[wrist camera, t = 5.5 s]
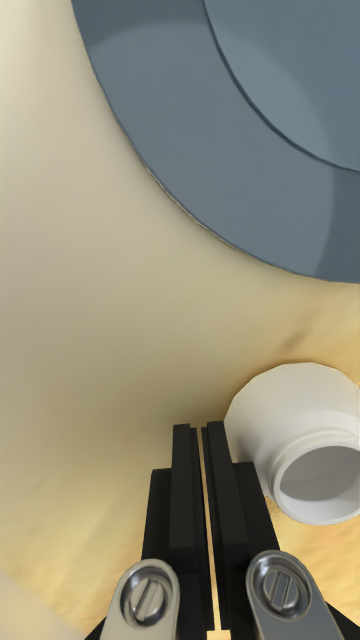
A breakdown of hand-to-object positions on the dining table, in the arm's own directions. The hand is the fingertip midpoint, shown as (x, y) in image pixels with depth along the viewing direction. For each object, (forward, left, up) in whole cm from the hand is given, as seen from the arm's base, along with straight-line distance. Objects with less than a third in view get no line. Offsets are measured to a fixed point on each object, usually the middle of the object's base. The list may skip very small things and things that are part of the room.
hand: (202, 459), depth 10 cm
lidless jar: (+3, 0, -2) cm, 4 cm away
